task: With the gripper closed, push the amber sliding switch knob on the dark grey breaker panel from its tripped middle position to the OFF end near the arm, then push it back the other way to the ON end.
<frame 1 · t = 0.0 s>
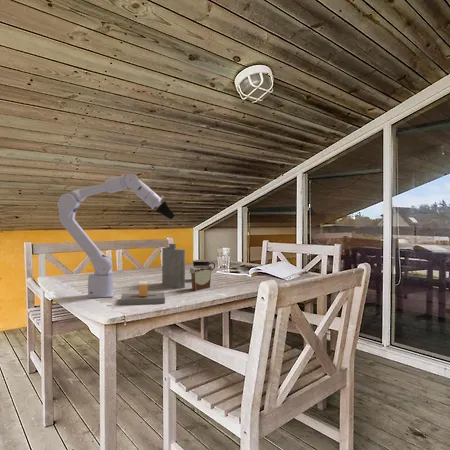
hand: (172, 217, 148), 32 cm above the table, tool tilted 50°, fingers open, 7 cm apart
food container: (198, 289, 159), on the table
breaker panel: (143, 301, 134), on the table
coffee mug: (203, 280, 182), on the table
hip flask: (172, 286, 165), on the table
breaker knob: (143, 288, 134), point 5 cm above the table, slide at 0.0 cm
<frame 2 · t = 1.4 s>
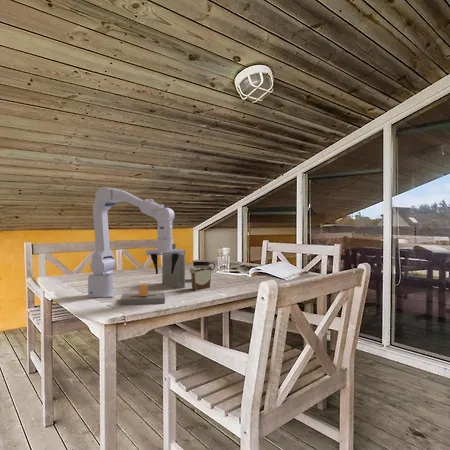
hand: (164, 273, 136), 10 cm above the table, tool pointing down, fingers open, 5 cm apart
nothing on the table moved.
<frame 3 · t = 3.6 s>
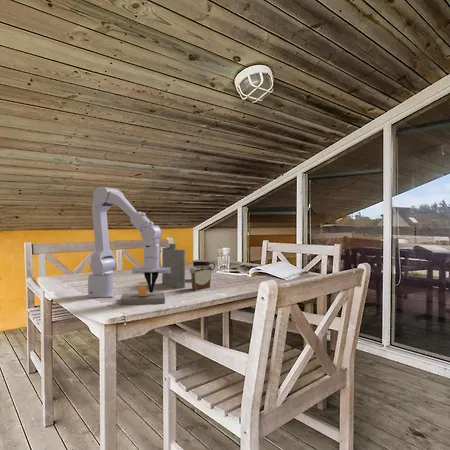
hand: (151, 292, 135), 3 cm above the table, tool pointing down, fingers closed
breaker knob: (142, 288, 134), point 5 cm above the table, slide at -0.3 cm, touching gripper
everything else where it was.
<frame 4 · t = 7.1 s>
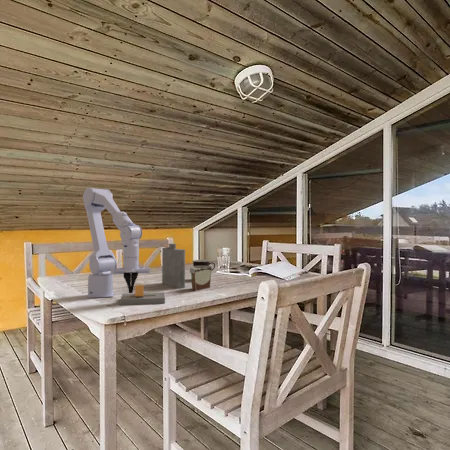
hand: (130, 292, 133), 3 cm above the table, tool pointing down, fingers closed
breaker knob: (139, 288, 134), point 5 cm above the table, slide at -1.4 cm, touching gripper
everything else where it was.
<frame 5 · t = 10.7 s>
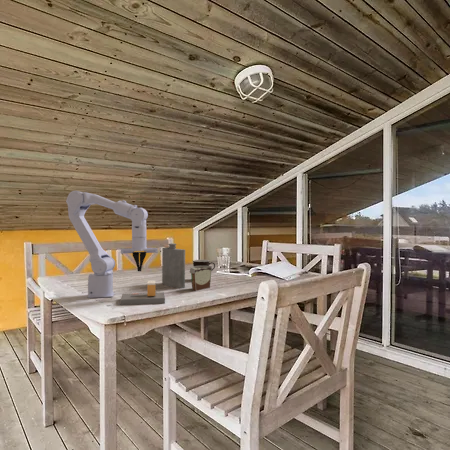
hand: (139, 271, 142), 10 cm above the table, tool pointing down, fingers closed
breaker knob: (151, 288, 135), point 5 cm above the table, slide at 3.1 cm
everything else where it was.
at the end: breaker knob slide at 3.1 cm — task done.
